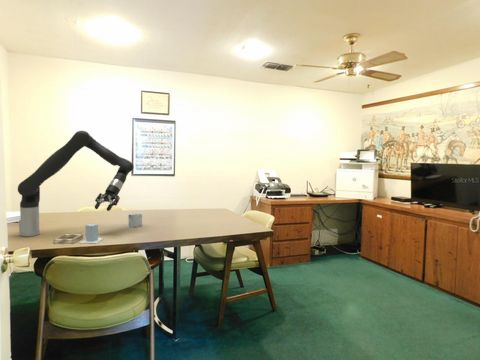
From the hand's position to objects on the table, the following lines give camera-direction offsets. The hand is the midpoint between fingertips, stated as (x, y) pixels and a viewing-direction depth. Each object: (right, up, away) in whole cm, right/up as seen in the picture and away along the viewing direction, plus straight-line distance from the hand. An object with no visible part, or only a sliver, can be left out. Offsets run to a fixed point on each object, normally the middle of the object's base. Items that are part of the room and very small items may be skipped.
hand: (101, 209), depth 181 cm
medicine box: (+10, -15, +29) cm, 34 cm away
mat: (-2, -17, -8) cm, 19 cm away
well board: (-15, -17, -8) cm, 24 cm away
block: (-2, -17, -8) cm, 19 cm away
